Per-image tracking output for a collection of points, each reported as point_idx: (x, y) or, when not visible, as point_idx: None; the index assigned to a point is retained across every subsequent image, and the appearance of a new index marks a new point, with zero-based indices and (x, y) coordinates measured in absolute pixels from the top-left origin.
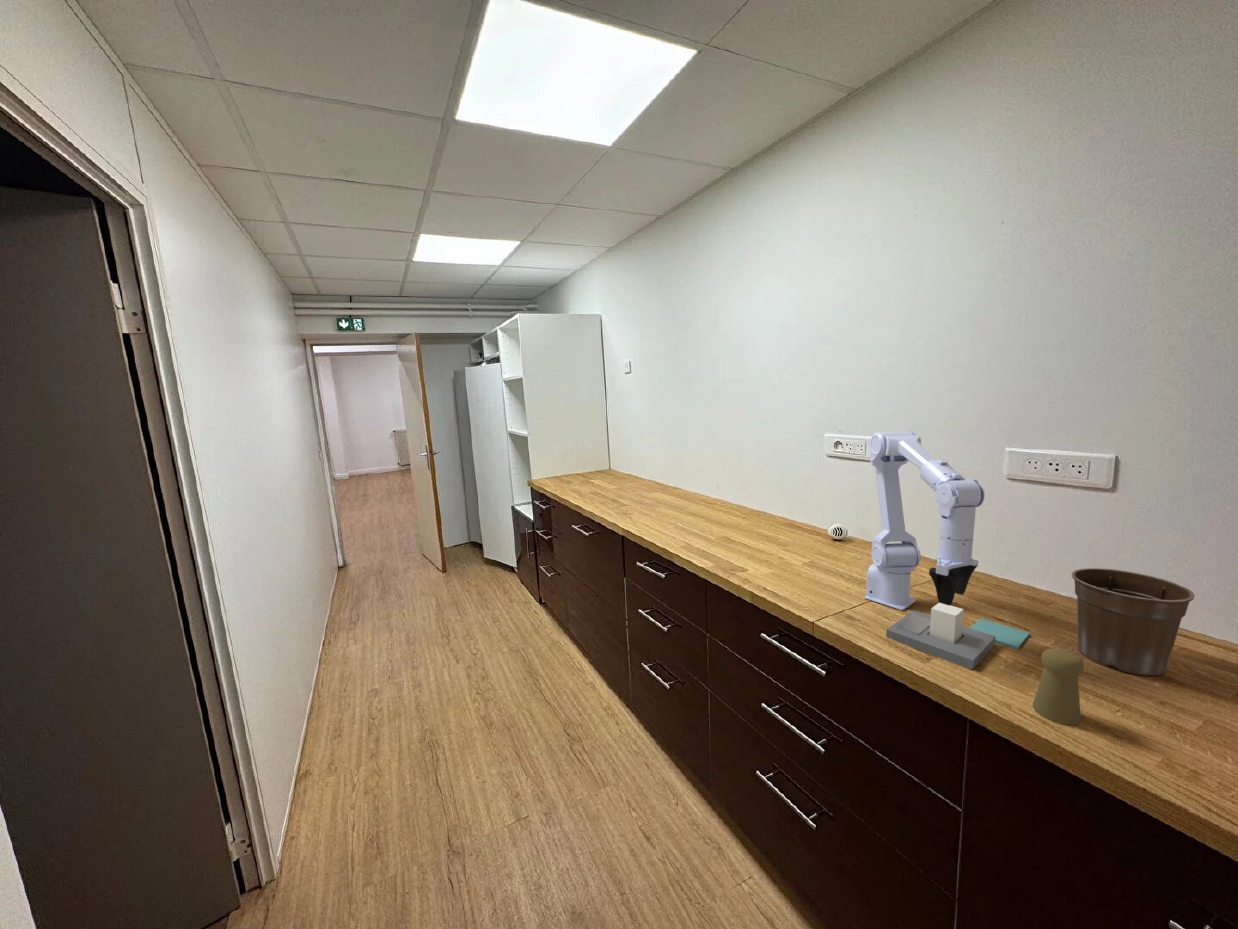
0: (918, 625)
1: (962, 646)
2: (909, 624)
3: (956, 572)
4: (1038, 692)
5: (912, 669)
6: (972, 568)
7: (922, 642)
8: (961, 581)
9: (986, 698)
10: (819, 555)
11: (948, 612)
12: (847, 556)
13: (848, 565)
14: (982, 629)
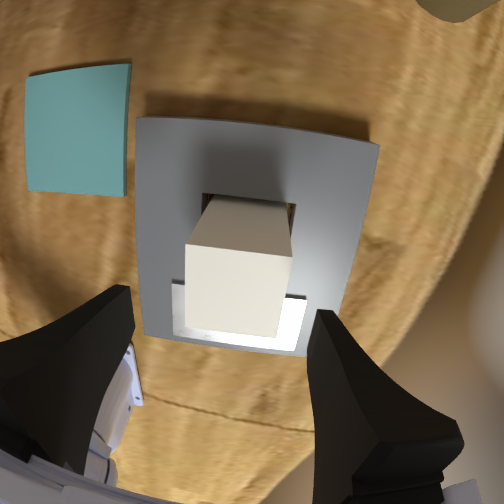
0: None
1: (299, 183)
2: None
3: (81, 402)
4: (480, 9)
5: (444, 261)
6: (23, 382)
7: (347, 280)
8: (96, 344)
9: (479, 109)
10: None
11: (274, 286)
12: None
13: None
14: (83, 166)
